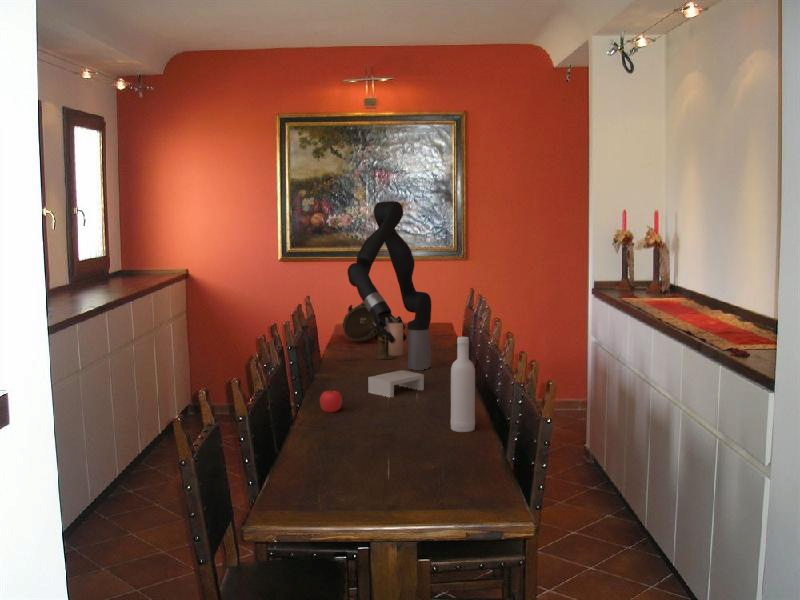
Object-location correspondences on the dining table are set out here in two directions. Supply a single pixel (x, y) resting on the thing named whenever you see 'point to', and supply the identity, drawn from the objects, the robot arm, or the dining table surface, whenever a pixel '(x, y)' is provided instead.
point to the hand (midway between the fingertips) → (399, 340)
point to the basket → (359, 324)
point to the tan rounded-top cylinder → (396, 338)
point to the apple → (330, 401)
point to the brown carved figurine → (383, 348)
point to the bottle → (462, 389)
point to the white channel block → (394, 382)
